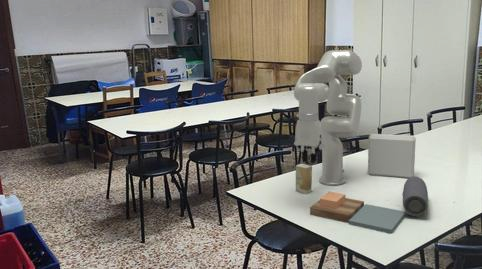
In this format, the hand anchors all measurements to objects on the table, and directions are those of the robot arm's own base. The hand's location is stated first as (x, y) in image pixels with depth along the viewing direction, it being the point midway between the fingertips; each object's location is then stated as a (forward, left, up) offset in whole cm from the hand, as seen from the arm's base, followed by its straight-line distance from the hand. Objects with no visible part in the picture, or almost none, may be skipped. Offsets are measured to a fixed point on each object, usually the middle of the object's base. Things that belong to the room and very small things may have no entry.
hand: (309, 161), depth 173 cm
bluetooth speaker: (-18, +37, -20) cm, 46 cm away
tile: (0, +10, -15) cm, 18 cm away
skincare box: (-14, -10, -19) cm, 26 cm away
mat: (0, +28, -19) cm, 34 cm away
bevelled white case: (-54, +17, -19) cm, 60 cm away
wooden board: (0, +12, -19) cm, 23 cm away
